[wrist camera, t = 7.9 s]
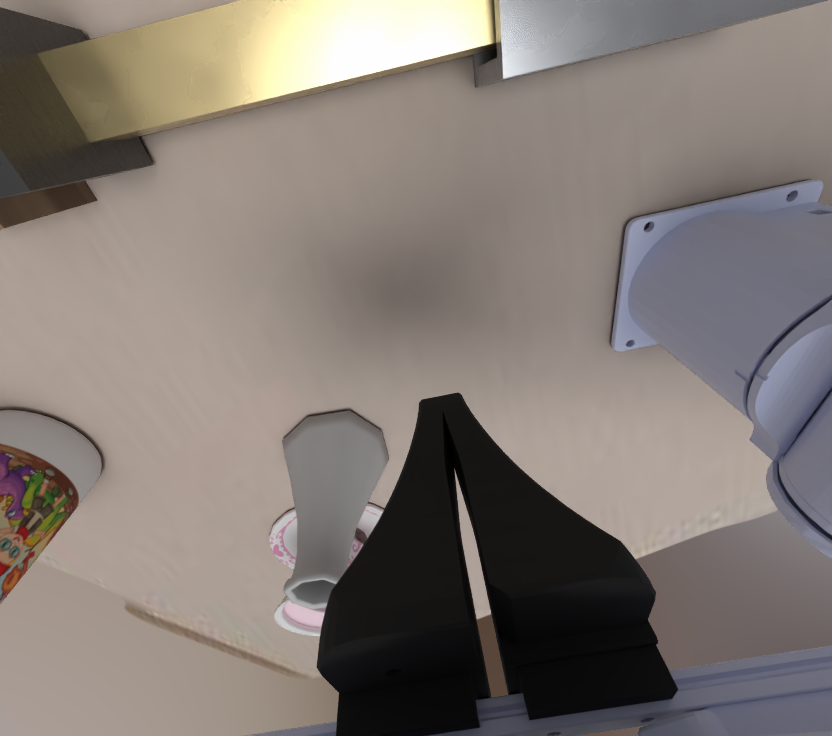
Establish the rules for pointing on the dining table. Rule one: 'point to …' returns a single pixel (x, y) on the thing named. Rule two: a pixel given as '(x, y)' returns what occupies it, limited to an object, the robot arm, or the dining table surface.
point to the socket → (43, 203)
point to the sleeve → (602, 29)
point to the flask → (329, 497)
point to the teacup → (286, 551)
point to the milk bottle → (38, 486)
